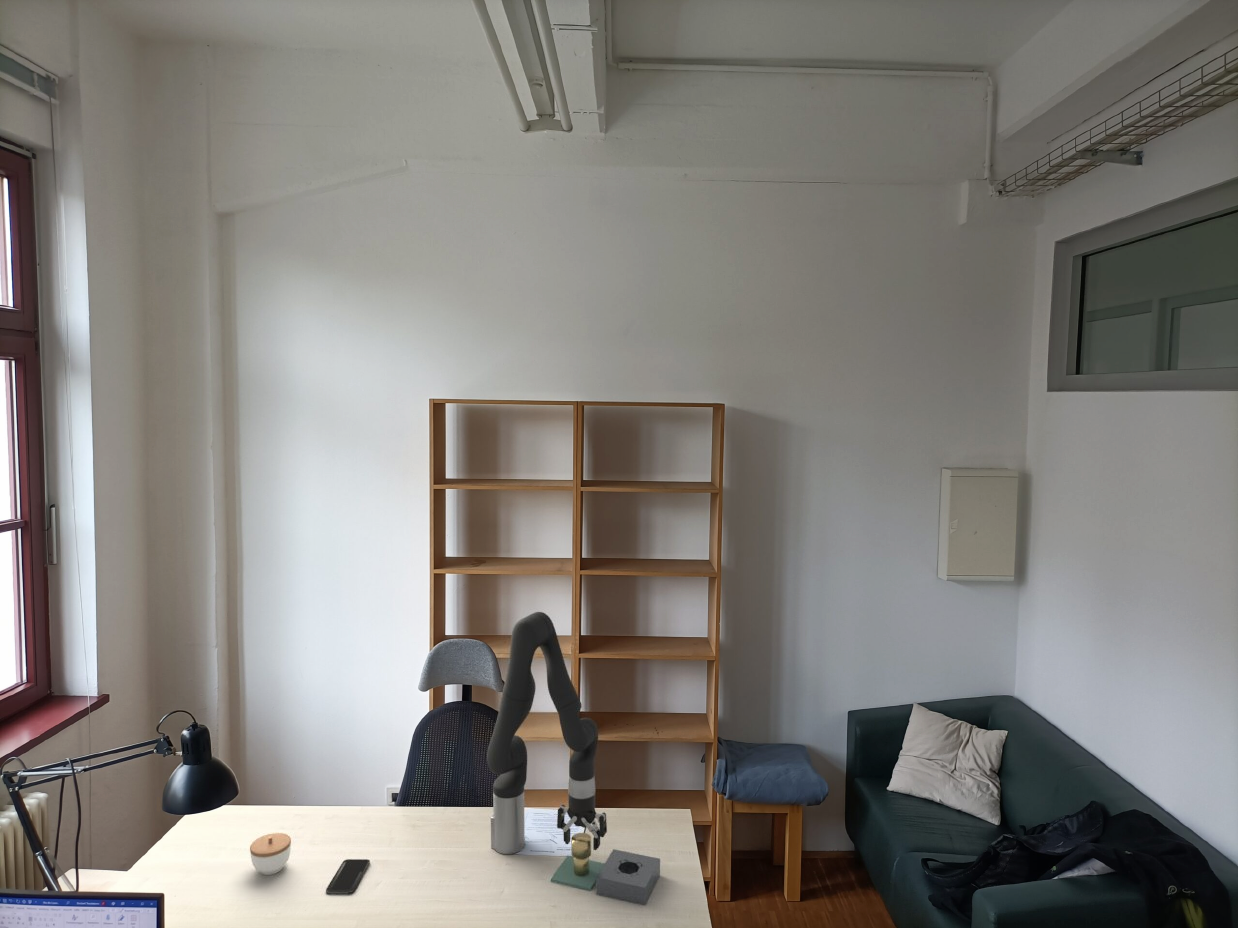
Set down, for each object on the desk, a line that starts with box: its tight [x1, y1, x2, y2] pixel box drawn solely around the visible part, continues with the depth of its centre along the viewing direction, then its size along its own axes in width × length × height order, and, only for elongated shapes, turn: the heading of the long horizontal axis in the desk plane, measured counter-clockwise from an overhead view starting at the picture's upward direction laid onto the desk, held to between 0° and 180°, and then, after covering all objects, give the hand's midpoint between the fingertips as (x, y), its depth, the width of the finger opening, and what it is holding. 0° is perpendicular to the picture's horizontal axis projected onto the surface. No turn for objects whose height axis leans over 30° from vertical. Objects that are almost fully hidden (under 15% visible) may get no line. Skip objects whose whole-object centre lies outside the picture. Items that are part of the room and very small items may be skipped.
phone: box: [325, 858, 371, 895], centre depth 224 cm, size 8×1×15 cm
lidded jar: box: [249, 832, 292, 876], centre depth 227 cm, size 11×11×9 cm
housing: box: [595, 849, 661, 906], centre depth 220 cm, size 14×14×5 cm
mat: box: [550, 855, 605, 892], centre depth 226 cm, size 12×12×1 cm
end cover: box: [570, 832, 592, 877], centre depth 225 cm, size 6×6×10 cm
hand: (581, 845), depth 225 cm, fingers open, 8 cm apart
